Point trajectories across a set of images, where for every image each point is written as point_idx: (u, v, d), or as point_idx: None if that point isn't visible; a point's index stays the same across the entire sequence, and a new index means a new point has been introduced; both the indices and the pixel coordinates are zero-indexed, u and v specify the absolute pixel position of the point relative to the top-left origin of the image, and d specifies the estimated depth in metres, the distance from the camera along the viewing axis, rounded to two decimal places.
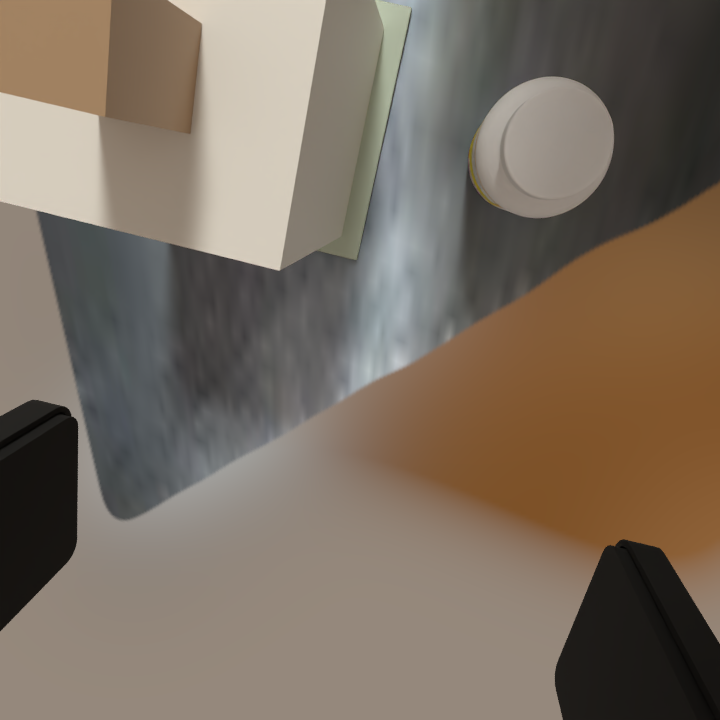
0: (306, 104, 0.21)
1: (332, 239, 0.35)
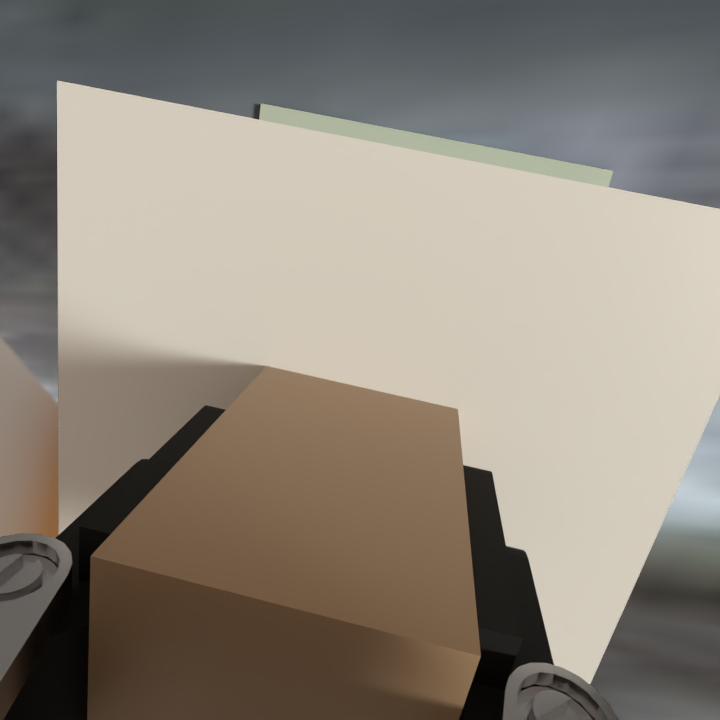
0: None
1: None
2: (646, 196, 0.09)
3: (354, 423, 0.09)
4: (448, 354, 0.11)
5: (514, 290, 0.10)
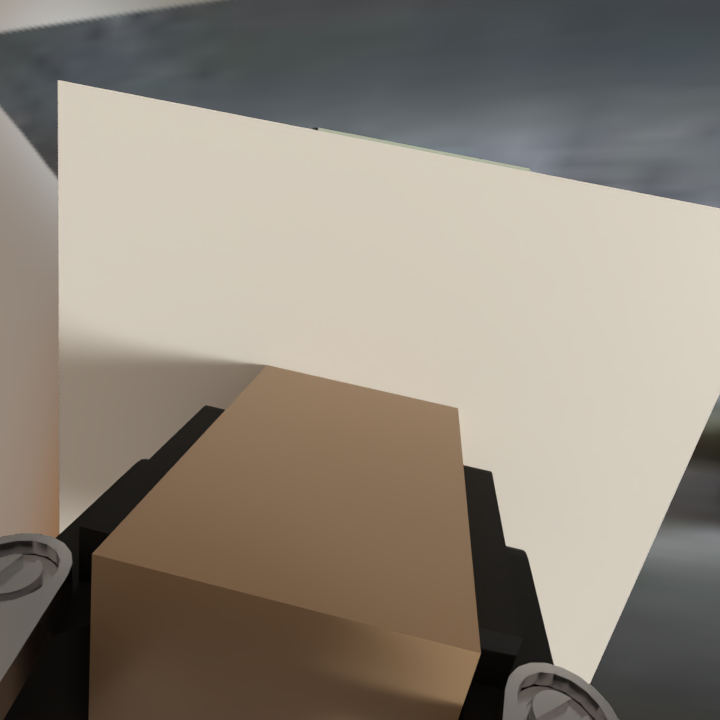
0: None
1: None
2: (646, 196, 0.09)
3: (354, 422, 0.09)
4: (448, 354, 0.11)
5: (514, 289, 0.10)
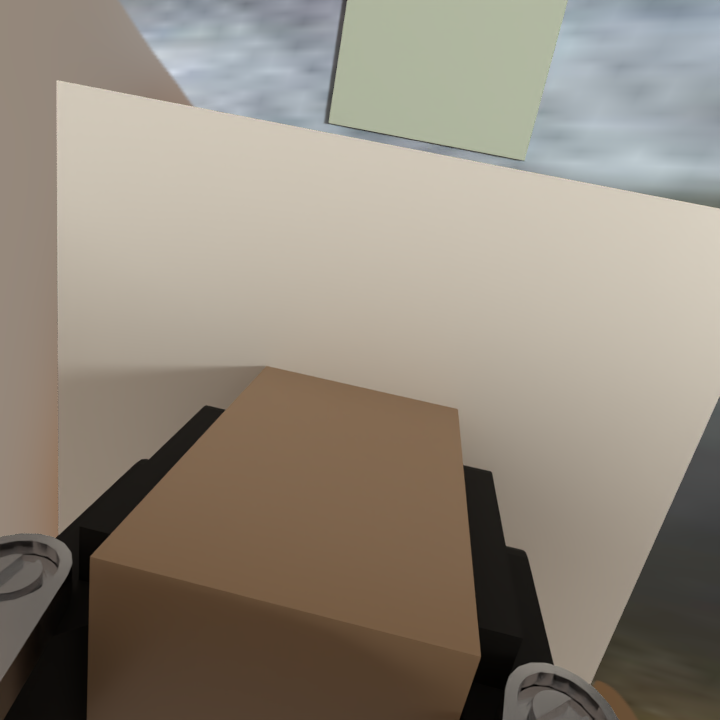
0: None
1: None
2: (646, 196, 0.09)
3: (354, 423, 0.09)
4: (448, 355, 0.10)
5: (514, 290, 0.10)
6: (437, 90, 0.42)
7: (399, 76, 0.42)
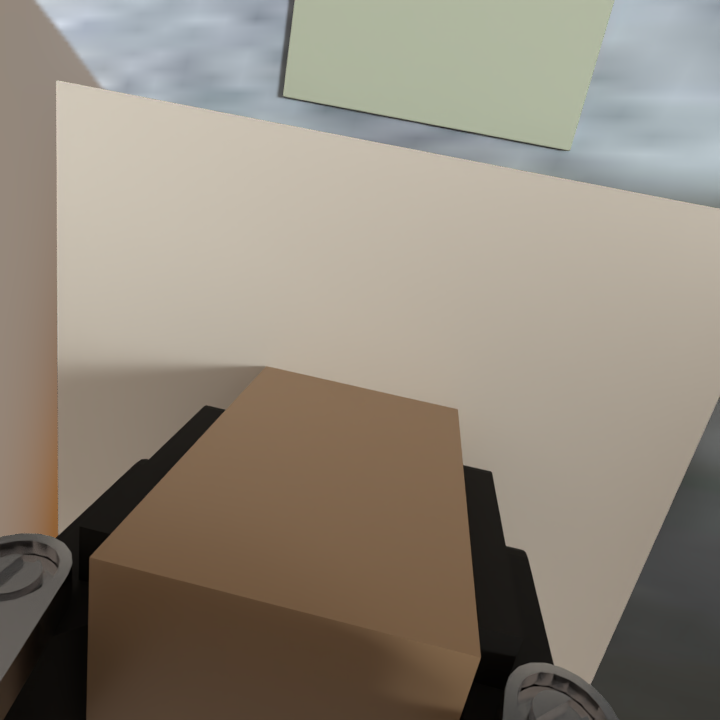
0: None
1: None
2: (646, 196, 0.09)
3: (354, 423, 0.09)
4: (448, 355, 0.10)
5: (514, 290, 0.10)
6: (441, 45, 0.28)
7: (385, 25, 0.28)
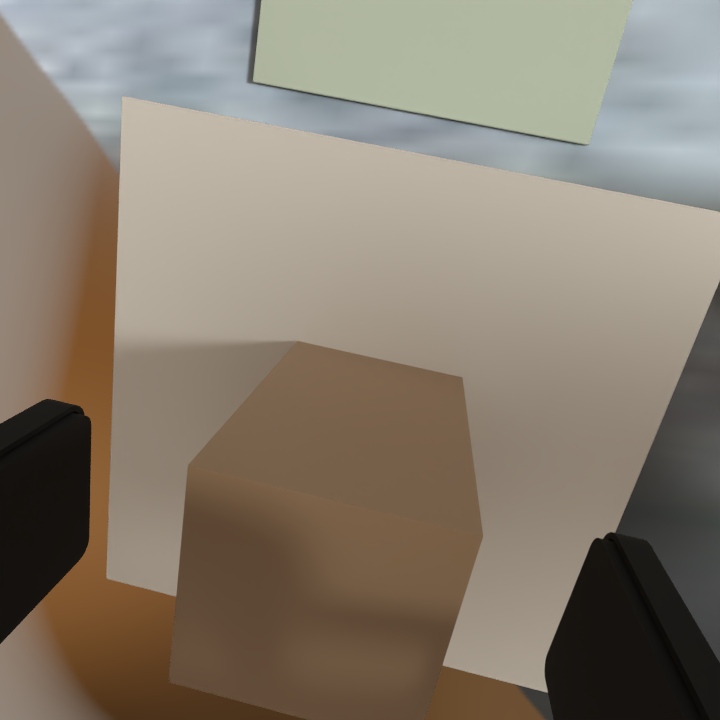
0: None
1: None
2: (621, 194, 0.11)
3: (375, 385, 0.11)
4: (454, 330, 0.12)
5: (510, 274, 0.12)
6: (437, 20, 0.24)
7: None
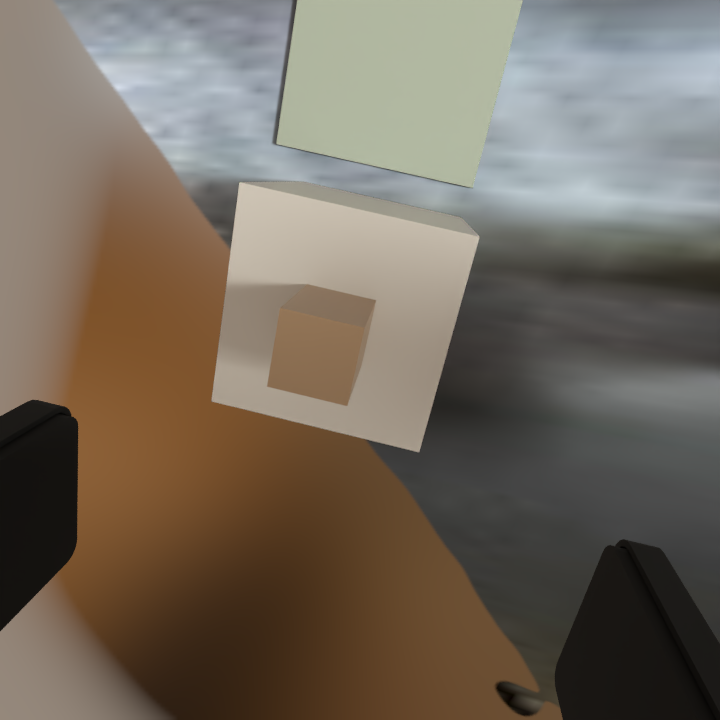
0: (315, 425, 0.33)
1: None
2: (434, 226, 0.29)
3: (338, 298, 0.29)
4: (372, 279, 0.30)
5: (394, 257, 0.29)
6: (385, 114, 0.41)
7: (347, 99, 0.41)
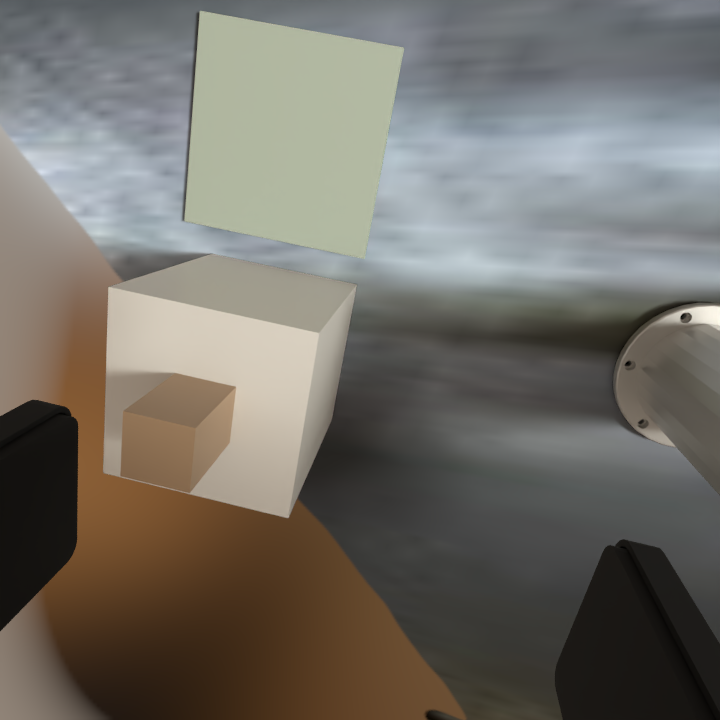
0: (195, 494, 0.37)
1: None
2: (279, 324, 0.32)
3: (195, 390, 0.32)
4: (231, 369, 0.33)
5: (247, 350, 0.33)
6: (280, 194, 0.45)
7: (245, 181, 0.45)
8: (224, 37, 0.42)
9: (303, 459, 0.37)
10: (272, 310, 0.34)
